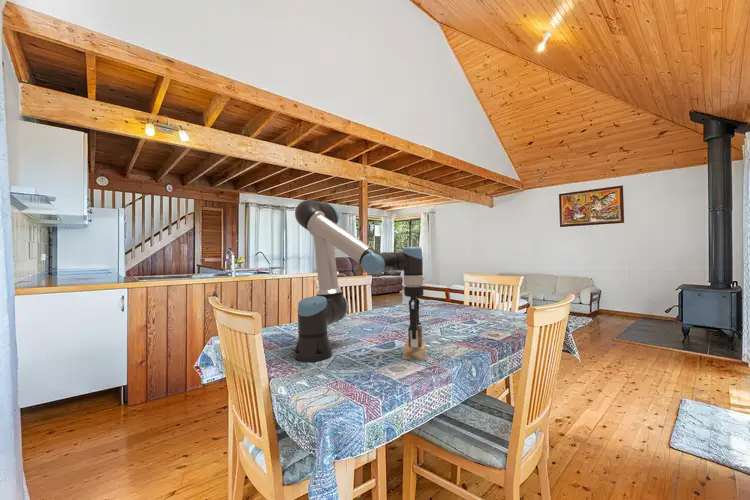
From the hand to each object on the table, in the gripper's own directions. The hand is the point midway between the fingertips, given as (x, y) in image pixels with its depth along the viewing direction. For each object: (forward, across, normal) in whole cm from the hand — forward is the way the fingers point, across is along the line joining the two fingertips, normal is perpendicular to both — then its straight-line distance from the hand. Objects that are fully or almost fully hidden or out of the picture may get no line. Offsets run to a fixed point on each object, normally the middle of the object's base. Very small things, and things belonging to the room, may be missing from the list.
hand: (415, 344), depth 128 cm
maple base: (+4, 0, 0) cm, 4 cm away
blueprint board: (+5, 0, 0) cm, 5 cm away
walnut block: (0, 0, 0) cm, 1 cm away
